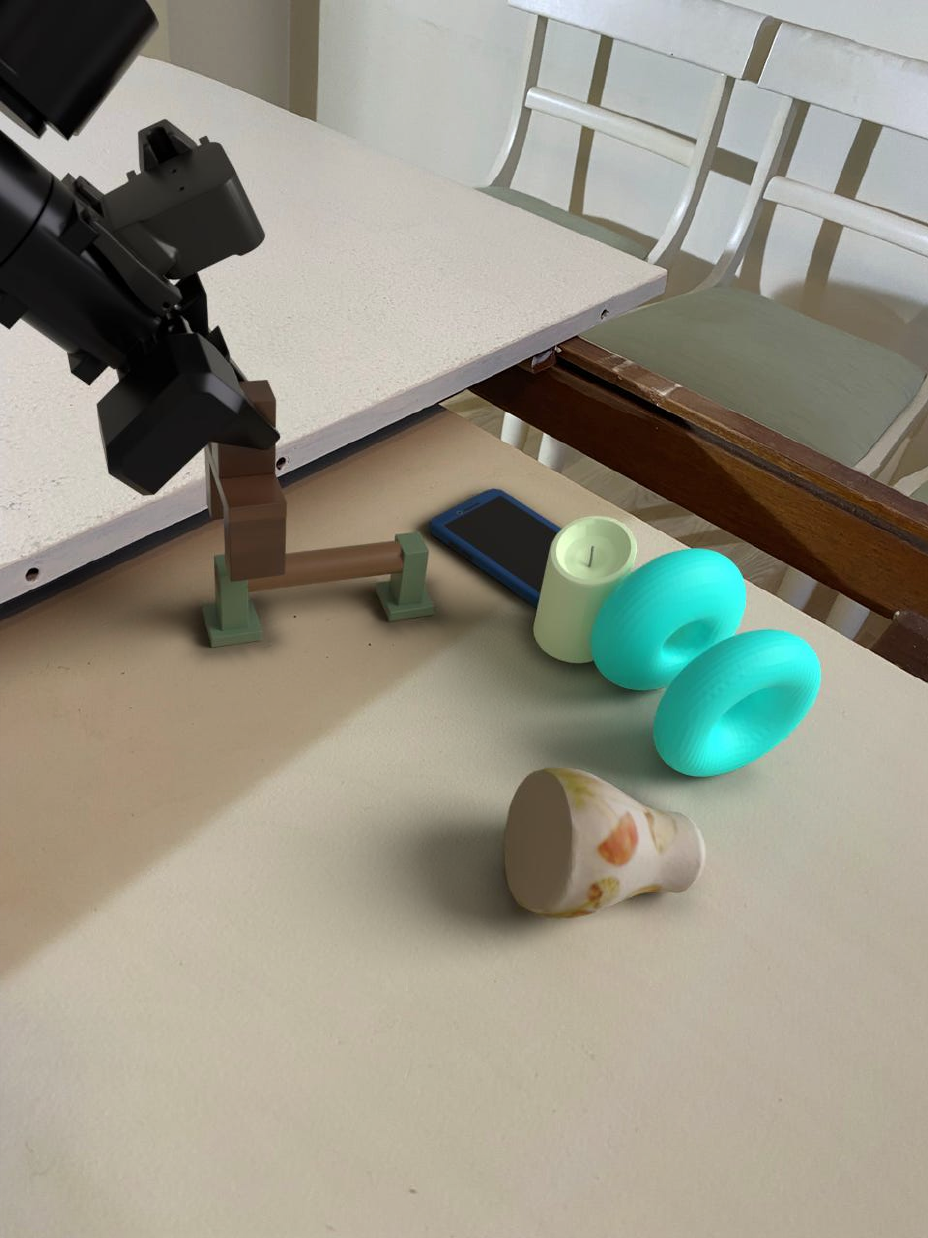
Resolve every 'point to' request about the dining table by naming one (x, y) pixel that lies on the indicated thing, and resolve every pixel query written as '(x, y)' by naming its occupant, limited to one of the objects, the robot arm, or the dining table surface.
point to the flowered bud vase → (592, 845)
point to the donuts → (704, 662)
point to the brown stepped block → (248, 499)
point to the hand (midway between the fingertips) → (269, 430)
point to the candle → (581, 583)
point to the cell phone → (500, 539)
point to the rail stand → (398, 596)
